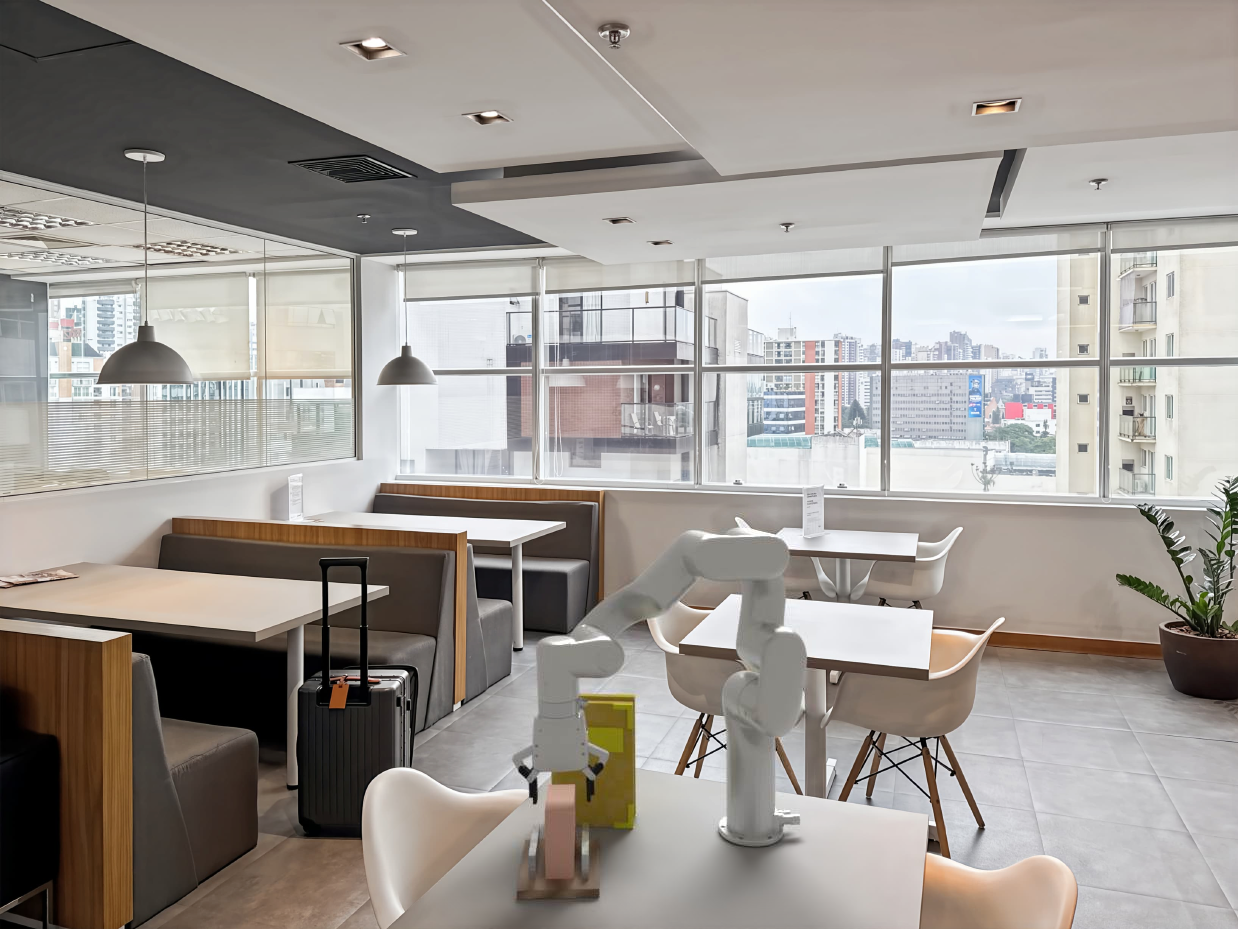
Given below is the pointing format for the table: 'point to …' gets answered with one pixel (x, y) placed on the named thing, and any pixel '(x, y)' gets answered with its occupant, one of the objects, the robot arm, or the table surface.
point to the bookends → (535, 850)
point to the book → (607, 763)
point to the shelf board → (560, 886)
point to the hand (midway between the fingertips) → (562, 800)
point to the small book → (560, 832)
